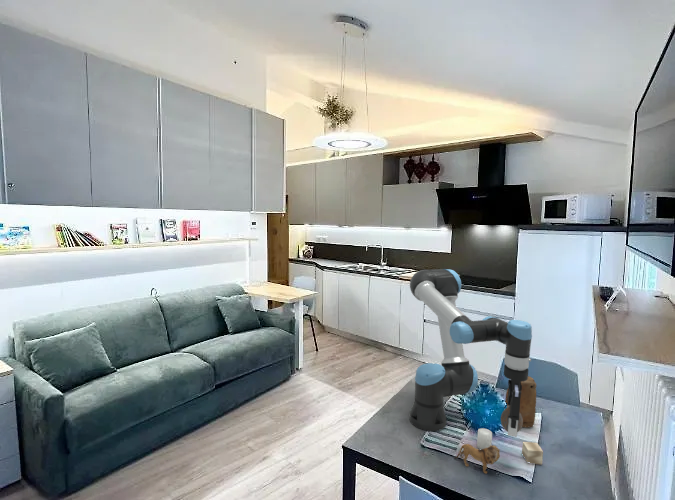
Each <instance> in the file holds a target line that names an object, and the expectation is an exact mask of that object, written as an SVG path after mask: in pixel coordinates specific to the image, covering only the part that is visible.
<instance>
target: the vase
mask: <svg viewBox="0 0 675 500" xmlns="http://www.w3.org/2000/svg"><path fill="white" fill-rule="evenodd" d="M507 416H510V405H509V406H508V408H506V409H505V408H504V410H503V411H502V413H501V415H500V424H501V426H502V429H504V430H505V431H506V432H507V433H508V424H509V418H508V417H507ZM522 425H523V419H522V416H521V414H520V412H519V421H518V426H517V433H519V432H520V431H521V430H522V428H523V427H522Z"/></svg>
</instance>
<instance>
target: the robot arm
mask: <svg viewBox="0 0 675 500" xmlns="http://www.w3.org/2000/svg"><path fill="white" fill-rule="evenodd" d="M461 288H462V280H461V278H460V276H459V274H458V273H457V272H456V271H455V270H454V269H450V268H449V269H446V268H439V269H438V268H437V269H435V268H434V269H421V270H419V271H416V272H415V273H414V274H413V275H412V276H411V279H410V281H409V289H410V292H411V293H412V296H414V298H416V300H417V301H420V302H423V303H424V304H425V305H426V306H427V307H428V309H430V310H431V311H432V313H434V314H435V315H436V316H437V323H438V327H439V335H440V340H441V347H442V353H443V359H442V361H440V362H441V364H440V363H432V362H429V363H423V364H420V365H419V366H418V367H417V369H416V370H415V376H414V401H413V404H412V406H411V407H410V408H411V409H410V411H409V415H408V416H409V422H410V423H411V424H412V425H413V426H414V427H415V428H418V429H420V430H424V431H428V432H437V430H438V431H440V430H443V429H444V428H446V426H447V415H446V411H445V408H444V398H445V397H451V396H452V397H453V396H459V395H467V394H471V393H473V392H475V390H476V389H477V386H478V384H479V375H478V372H477V370H476V368H475V366H474V365H473V364H470V360H469V359H468V358H467V357H466V356H465V352H464V346H463V344H464V345H468V344H474V343H475V344H476V343H483V342H484V343H485V342H486V343H487V342H495V341H496V342H498V343H501V344H503V345H505V352H504V361H503V362H504V366H503V367H504V368H503V376H504V377H505V378H507V379H508V380H507V384H508V386H507V389H508V398H507V401H508V402H507V404H508V405H510V416H507V417H508V418H509V424H508V432H507V436H510V437H514V438H517V434H518V432H517V426H518V421H519V412H520V398H521V390H522V385H521V381H526V380H527V379H528V376H529V366H530V362H532V359H531V358H530V357H531V356H530V355H531V344H532V339H533V333H532V331H533V328H532V324H531V323H529V322H528V321H525V320H519V319H511V320H508V321H505V320H502V319H501V318H498V317H496V316H495V317H494V316H490V315H487V316H486V317H484V318H483V319H480V320H479V319H478V320H472V319H470V318H469V317H468V316H467V315H465V314H464V313H463V312H462V311H461V310H460V309H459V308H458V307H457V305H456V300H457V299H458V298H459V295H458V294H459V293H460V292H461V291H462V289H461ZM472 391H473V392H472ZM470 392H471V393H470ZM508 405H507V408H508Z"/></svg>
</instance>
